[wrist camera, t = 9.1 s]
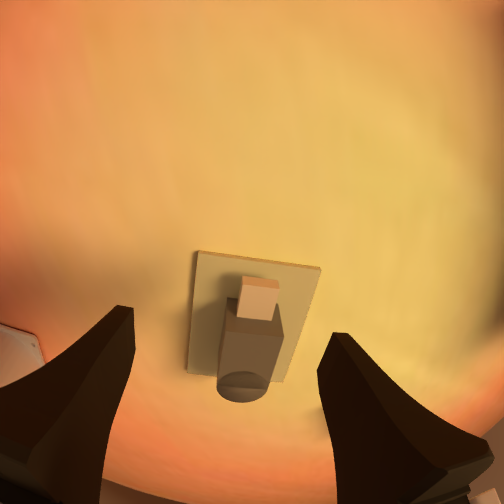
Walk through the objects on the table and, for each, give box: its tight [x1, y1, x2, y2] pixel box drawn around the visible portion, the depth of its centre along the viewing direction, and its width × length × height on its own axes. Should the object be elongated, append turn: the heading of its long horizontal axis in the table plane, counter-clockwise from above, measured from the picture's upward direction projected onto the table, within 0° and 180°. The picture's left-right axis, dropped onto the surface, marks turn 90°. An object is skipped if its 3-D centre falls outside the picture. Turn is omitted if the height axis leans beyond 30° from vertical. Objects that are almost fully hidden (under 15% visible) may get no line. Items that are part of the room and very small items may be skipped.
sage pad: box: [187, 251, 321, 382], centre depth 23 cm, size 11×8×1 cm
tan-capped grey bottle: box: [217, 276, 284, 403], centre depth 21 cm, size 9×4×4 cm, turn 170°
